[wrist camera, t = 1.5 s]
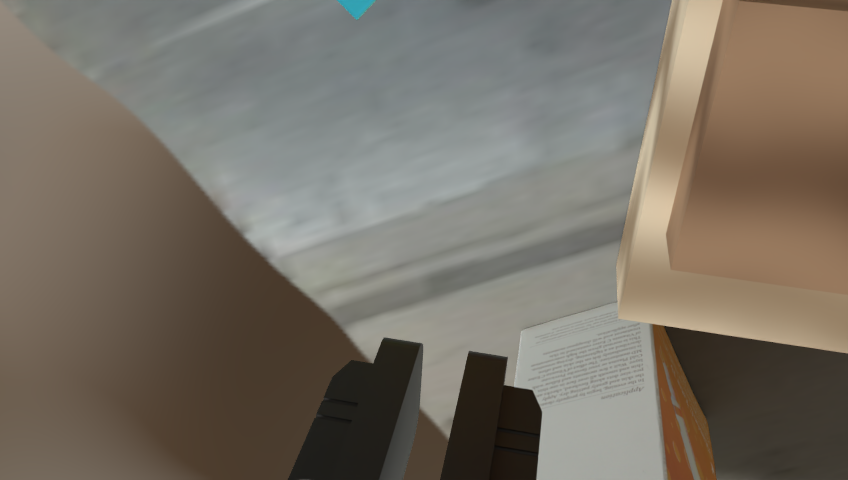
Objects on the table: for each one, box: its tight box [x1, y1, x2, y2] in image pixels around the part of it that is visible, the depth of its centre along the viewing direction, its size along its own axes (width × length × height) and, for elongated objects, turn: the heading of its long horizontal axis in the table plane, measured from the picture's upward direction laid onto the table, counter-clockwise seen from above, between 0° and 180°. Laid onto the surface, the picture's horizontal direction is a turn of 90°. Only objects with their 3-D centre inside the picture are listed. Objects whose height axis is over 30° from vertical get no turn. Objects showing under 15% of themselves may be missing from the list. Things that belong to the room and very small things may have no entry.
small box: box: [514, 302, 717, 480], centre depth 32 cm, size 8×6×13 cm
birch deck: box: [616, 0, 848, 353], centre depth 28 cm, size 17×12×4 cm
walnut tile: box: [666, 0, 848, 295], centre depth 25 cm, size 9×6×2 cm, turn 177°
